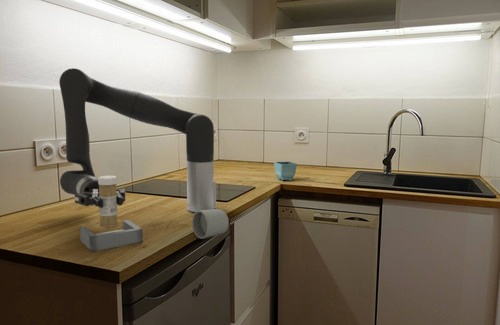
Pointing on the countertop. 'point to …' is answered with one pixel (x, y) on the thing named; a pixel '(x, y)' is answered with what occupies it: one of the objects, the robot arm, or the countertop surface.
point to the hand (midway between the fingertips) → (111, 202)
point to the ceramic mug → (210, 223)
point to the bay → (111, 237)
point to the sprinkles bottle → (108, 201)
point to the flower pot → (285, 170)
